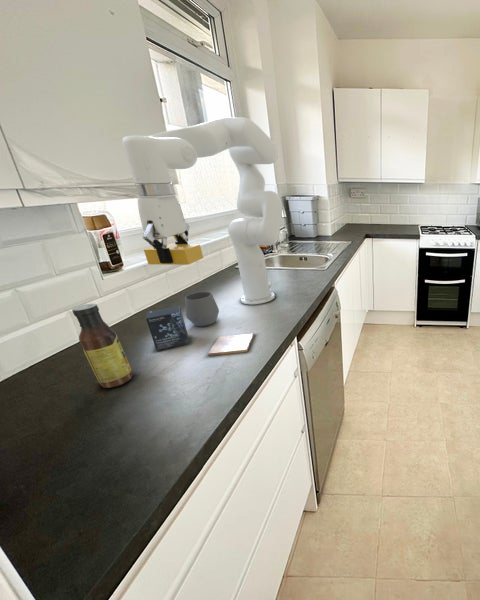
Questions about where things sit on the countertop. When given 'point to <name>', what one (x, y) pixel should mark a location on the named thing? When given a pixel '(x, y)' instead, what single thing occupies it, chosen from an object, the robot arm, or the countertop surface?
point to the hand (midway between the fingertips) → (176, 258)
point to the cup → (201, 308)
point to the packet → (176, 254)
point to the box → (167, 328)
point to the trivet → (231, 344)
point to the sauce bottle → (102, 347)
